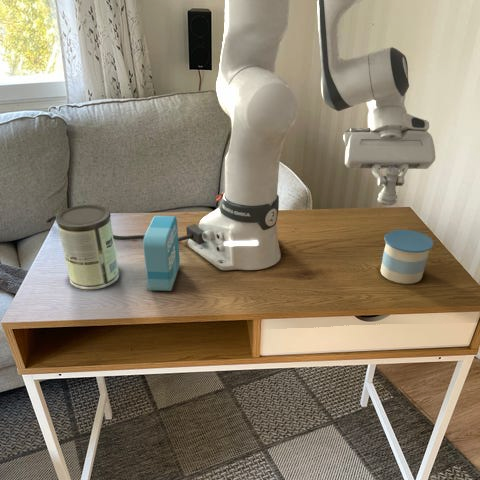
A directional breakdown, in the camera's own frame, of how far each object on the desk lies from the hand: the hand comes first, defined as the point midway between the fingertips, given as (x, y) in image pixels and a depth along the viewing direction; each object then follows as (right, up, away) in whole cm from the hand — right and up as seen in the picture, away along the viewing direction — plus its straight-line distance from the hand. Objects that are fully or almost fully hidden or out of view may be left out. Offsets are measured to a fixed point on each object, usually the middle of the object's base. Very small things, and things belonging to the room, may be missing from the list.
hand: (391, 184), depth 114 cm
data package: (-50, -22, -8) cm, 55 cm away
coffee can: (-65, -22, -8) cm, 69 cm away
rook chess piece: (0, -3, +3) cm, 5 cm away
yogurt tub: (+1, -21, -5) cm, 21 cm away
